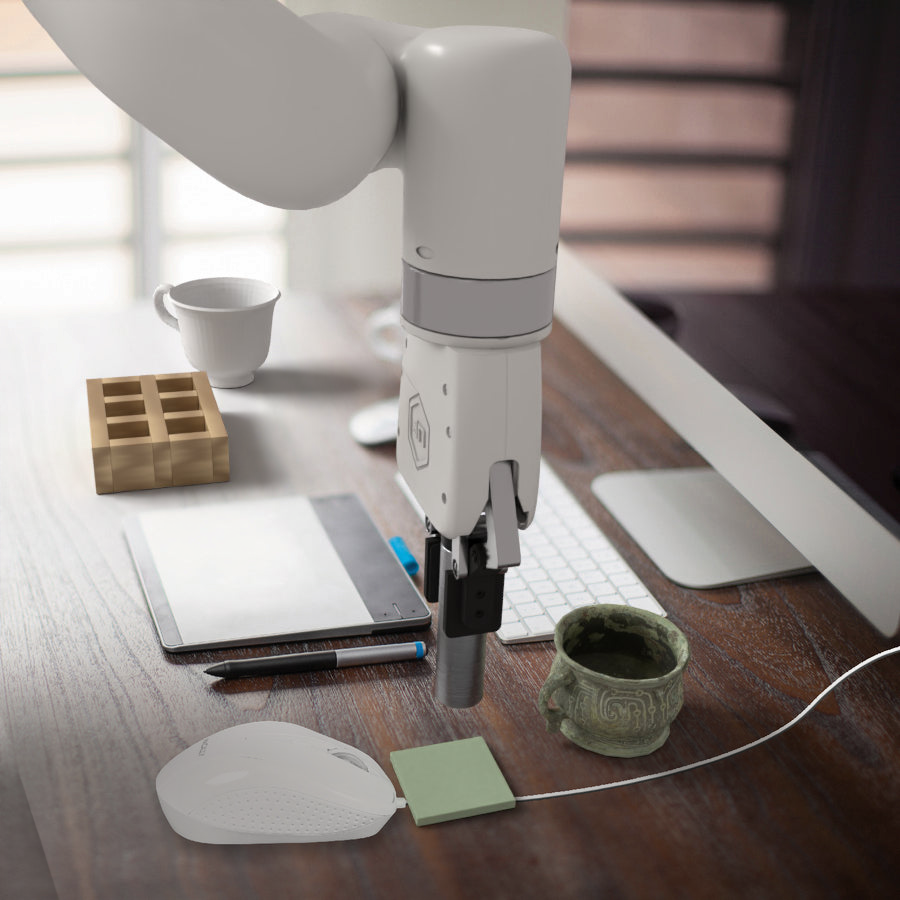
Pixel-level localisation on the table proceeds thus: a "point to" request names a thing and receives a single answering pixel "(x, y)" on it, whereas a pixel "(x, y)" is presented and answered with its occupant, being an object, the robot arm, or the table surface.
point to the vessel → (615, 679)
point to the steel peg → (458, 649)
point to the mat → (451, 781)
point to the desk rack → (156, 432)
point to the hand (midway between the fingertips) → (461, 612)
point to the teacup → (222, 325)
